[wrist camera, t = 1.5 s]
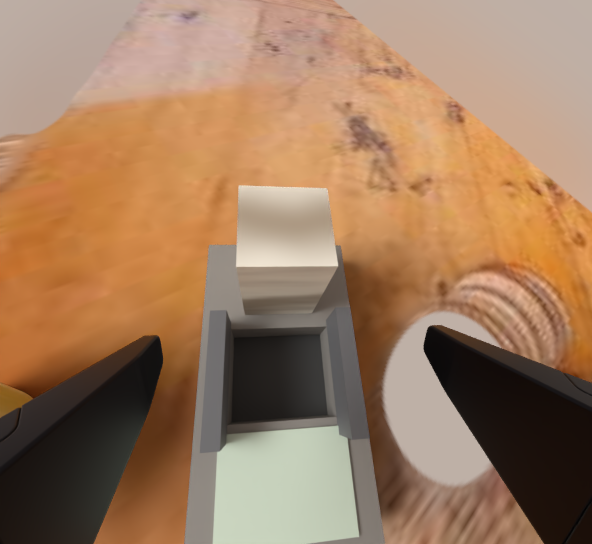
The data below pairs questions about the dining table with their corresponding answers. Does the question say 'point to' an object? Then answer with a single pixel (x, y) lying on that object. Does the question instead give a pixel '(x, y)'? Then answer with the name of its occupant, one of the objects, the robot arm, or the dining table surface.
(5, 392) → the plant pot
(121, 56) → the dining table surface
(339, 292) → the tunnel deck
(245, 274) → the cream block
